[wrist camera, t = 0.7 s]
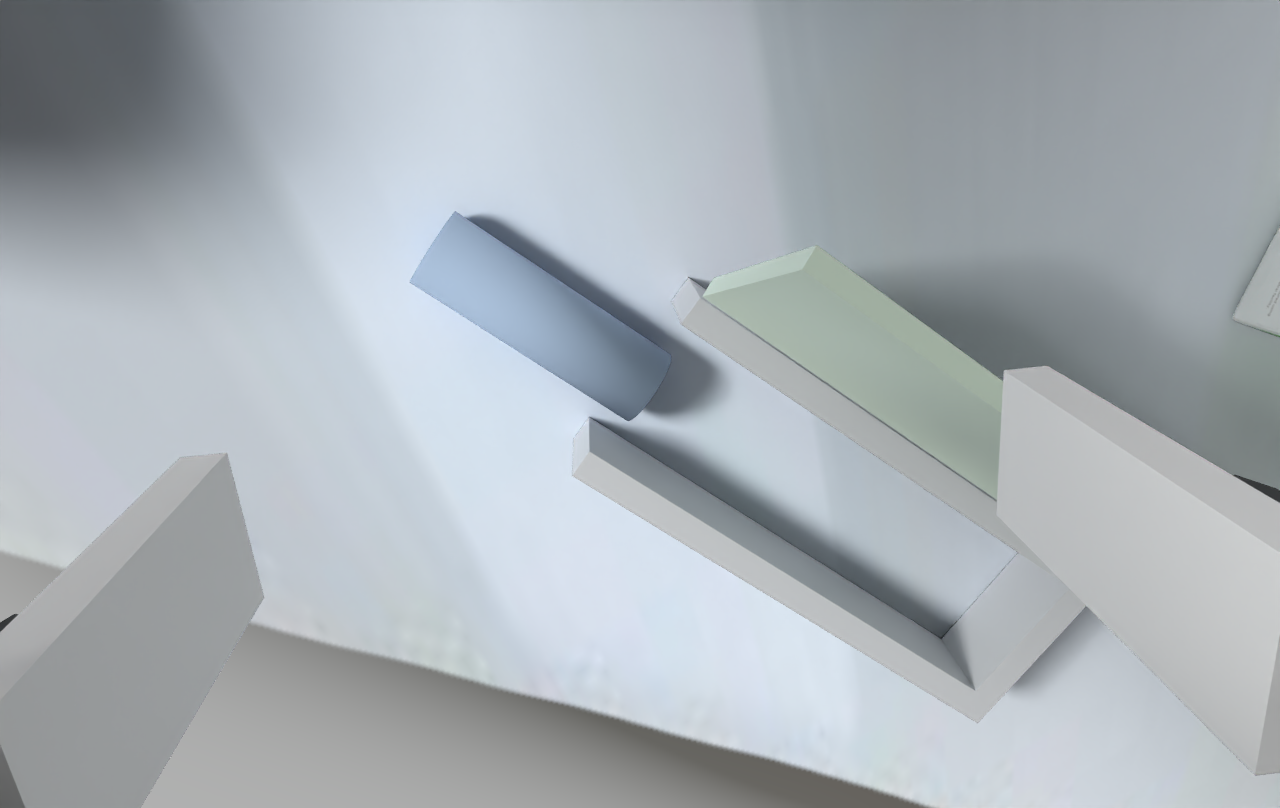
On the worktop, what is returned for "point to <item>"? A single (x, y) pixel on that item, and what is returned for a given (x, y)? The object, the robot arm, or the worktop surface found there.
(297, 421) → the worktop surface
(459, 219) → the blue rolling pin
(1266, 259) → the skincare box
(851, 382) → the cover
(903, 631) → the white u-shaped channel
